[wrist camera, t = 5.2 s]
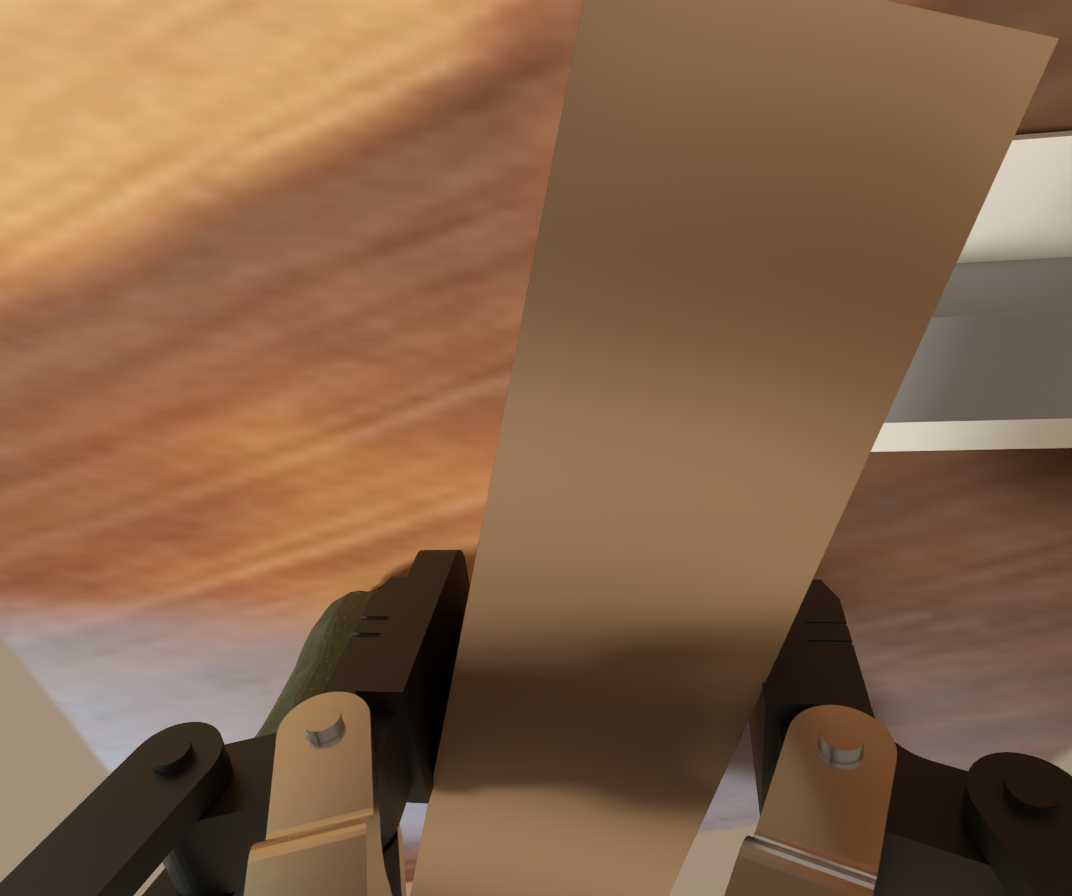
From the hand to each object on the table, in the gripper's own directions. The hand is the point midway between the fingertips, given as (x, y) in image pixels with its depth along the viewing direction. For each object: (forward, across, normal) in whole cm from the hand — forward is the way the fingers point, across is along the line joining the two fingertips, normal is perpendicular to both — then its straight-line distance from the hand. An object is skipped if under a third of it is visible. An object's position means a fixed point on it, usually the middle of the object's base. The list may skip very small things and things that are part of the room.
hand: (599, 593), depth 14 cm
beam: (+1, 0, 0) cm, 1 cm away
